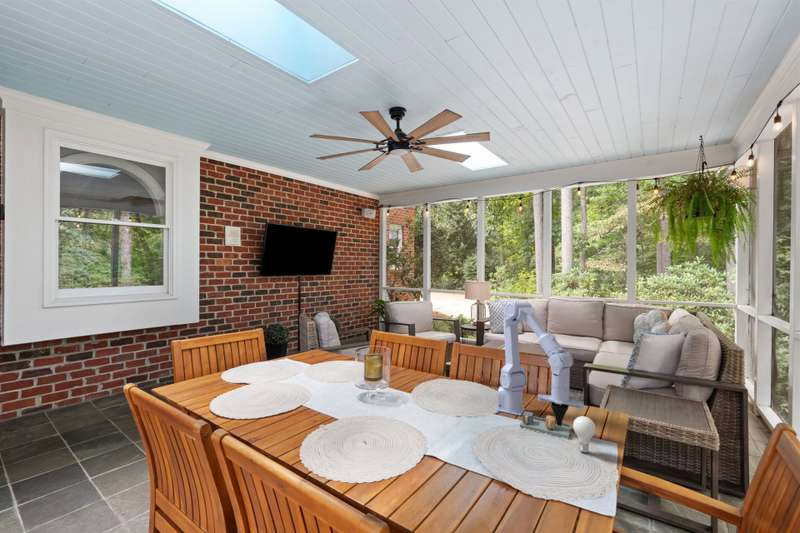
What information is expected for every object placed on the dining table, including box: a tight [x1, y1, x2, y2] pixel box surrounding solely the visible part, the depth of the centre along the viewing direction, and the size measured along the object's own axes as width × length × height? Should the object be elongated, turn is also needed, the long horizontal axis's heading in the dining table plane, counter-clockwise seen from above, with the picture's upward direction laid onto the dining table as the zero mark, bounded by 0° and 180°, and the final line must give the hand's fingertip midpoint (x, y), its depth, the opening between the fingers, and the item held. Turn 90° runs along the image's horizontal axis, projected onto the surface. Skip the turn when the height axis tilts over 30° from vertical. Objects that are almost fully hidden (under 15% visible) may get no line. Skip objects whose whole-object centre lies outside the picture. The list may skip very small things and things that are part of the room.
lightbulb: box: [572, 415, 597, 454], centre depth 114 cm, size 6×6×11 cm
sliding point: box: [545, 414, 556, 429], centre depth 129 cm, size 3×5×3 cm, turn 150°
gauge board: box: [519, 410, 573, 440], centre depth 131 cm, size 16×10×4 cm, turn 60°
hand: (559, 424), depth 128 cm, fingers closed
